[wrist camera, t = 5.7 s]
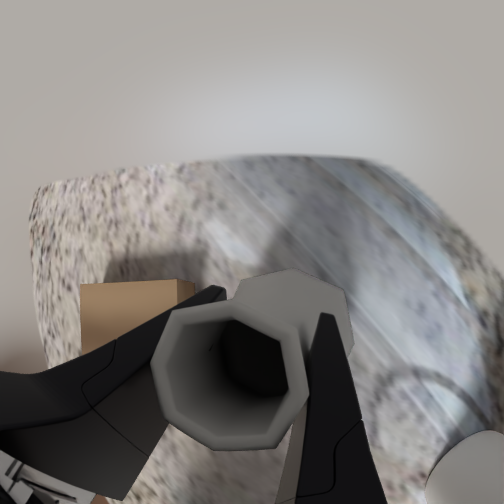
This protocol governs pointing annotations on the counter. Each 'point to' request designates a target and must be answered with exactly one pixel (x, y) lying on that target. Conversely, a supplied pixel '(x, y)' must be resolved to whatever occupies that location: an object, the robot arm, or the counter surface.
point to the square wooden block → (125, 307)
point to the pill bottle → (470, 472)
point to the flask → (244, 360)
